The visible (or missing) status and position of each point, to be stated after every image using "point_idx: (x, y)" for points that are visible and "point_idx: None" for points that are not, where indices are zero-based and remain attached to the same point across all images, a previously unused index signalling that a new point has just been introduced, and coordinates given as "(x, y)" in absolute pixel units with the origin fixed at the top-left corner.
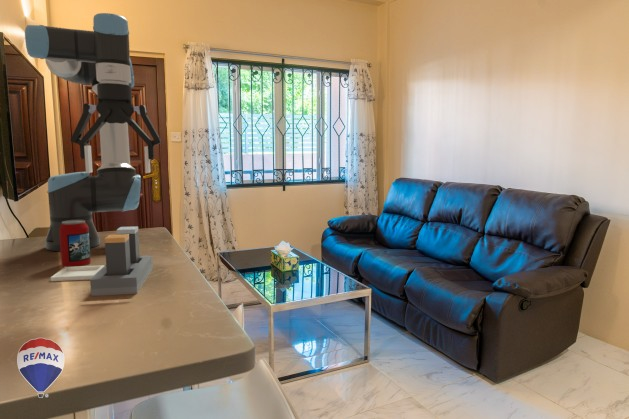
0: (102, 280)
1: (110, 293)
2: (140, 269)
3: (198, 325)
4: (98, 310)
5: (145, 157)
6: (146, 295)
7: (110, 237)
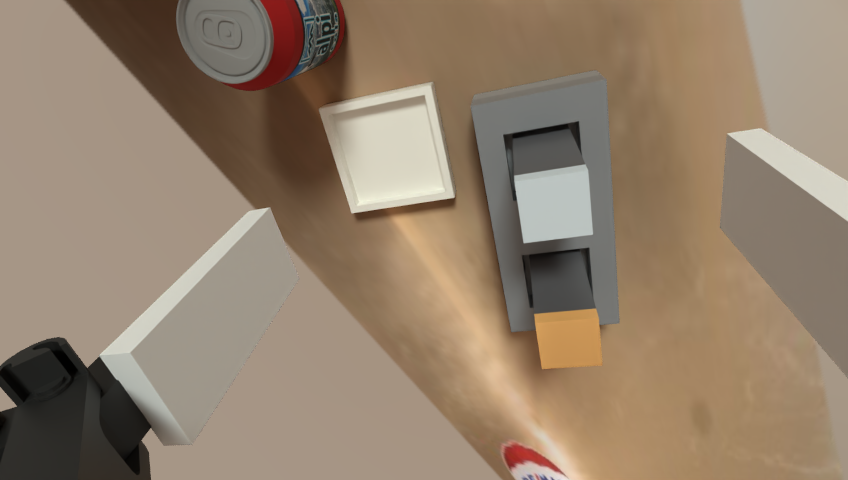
0: None
1: None
2: (610, 258)
3: (762, 432)
4: None
5: (803, 315)
6: (631, 293)
7: (555, 360)
